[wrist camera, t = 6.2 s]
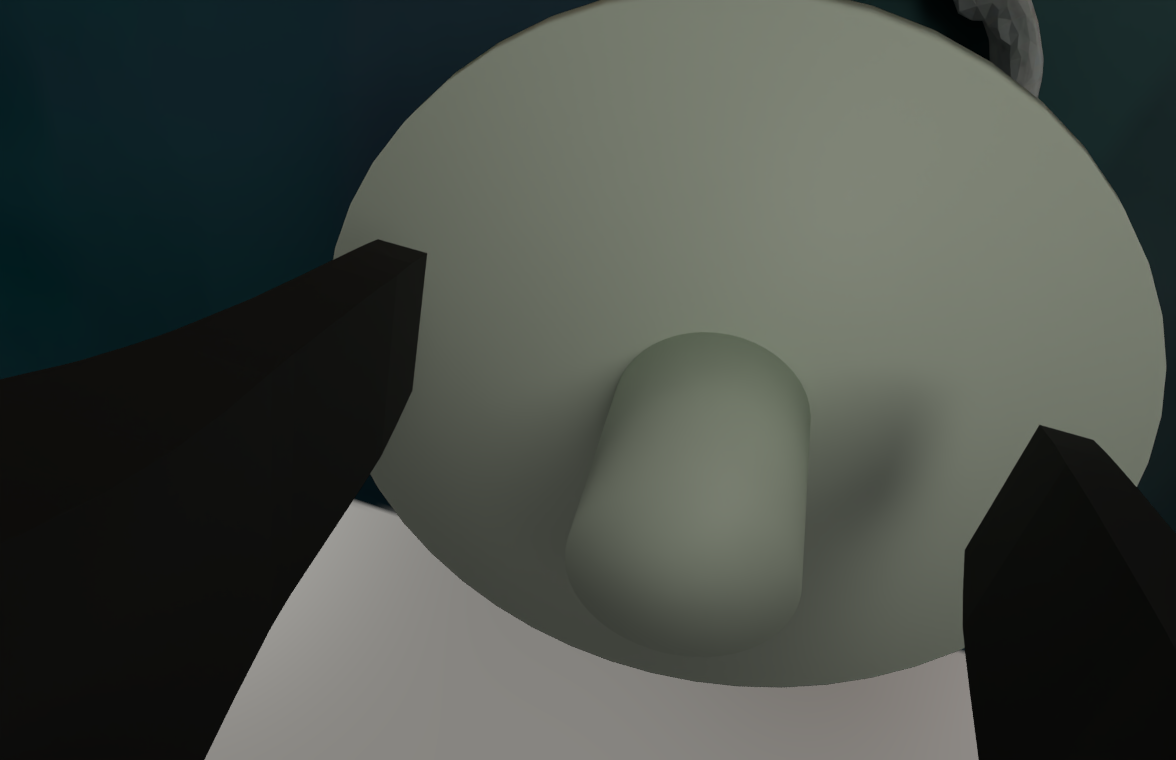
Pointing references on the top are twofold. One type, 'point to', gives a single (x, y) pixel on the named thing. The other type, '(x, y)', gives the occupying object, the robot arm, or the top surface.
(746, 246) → the lid
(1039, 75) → the ceramic mug
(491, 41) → the top surface
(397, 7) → the top surface
